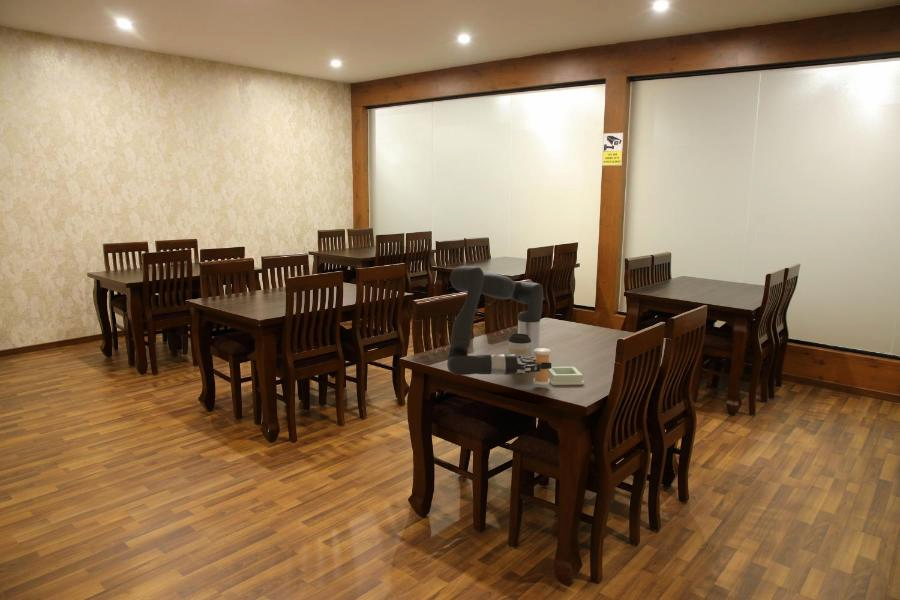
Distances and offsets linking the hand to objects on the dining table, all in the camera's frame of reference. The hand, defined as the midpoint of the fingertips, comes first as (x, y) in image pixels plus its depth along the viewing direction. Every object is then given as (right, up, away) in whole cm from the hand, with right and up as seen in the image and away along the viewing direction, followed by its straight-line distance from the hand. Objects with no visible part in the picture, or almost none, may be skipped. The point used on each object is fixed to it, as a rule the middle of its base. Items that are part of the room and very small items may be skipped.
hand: (549, 363), depth 217 cm
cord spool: (-3, -7, +1) cm, 7 cm away
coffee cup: (-9, -6, +22) cm, 24 cm away
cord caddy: (+7, -7, +11) cm, 15 cm away
